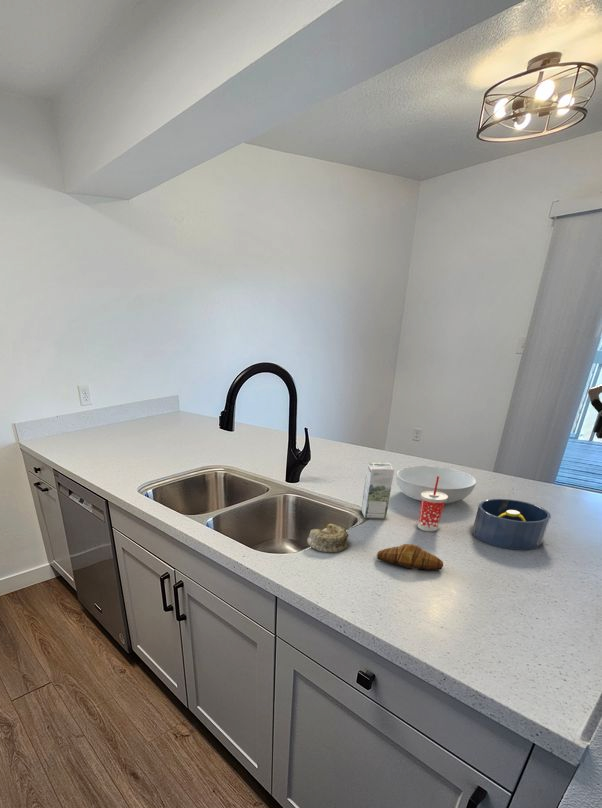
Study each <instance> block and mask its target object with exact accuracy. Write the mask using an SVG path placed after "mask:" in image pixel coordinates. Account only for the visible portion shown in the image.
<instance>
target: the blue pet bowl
mask: <svg viewBox="0 0 602 808" xmlns="http://www.w3.org/2000/svg"><path fill="white" fill-rule="evenodd" d="M507 510H516V511H519V512H520V514H521V515H522V516H523V517H524V519H525V520H526V521H522V519H521V518H519V517H518V516H517V517H512V516H508V515H506V516H503V517H501V518H500V517H498V516H499V515H500V514H502V513H505V512H506V511H507ZM551 518H552V516H551V513H550V511H549V510H547V509H545V508H544V507H542V506H539V505H537V504H534V503H530V502H527V501H522V500H517V499H509V498H491V499H485V500H481V502H480V503H478V506H477V509H476V514H475V518H474V522H473V524H472V525H473V526H472V531H471V532H472V534H473V536H474V537H475V538H477V539H478V540H480V541H481V542H484V543H486V544H488V545H491V546H495V547H499V548H503V549H508V550H509V549H510V550H518V551H519V550H520V551H522V550H525V551H526V550H533V549H536V548H539V547H540V546H541V545H542V543H543V541H544V537H545V534H546V532H547V528H548V526H549V523H550V522H551Z"/></svg>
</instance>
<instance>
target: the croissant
mask: <svg viewBox="0 0 602 808" xmlns="http://www.w3.org/2000/svg"><path fill="white" fill-rule="evenodd" d="M376 558H377V560H379V561H381V562H383V563H386V564H390V565H396V566H400V567H403V568H406V569H415V570H425V571H438V570H442V569H443V567H444V561H443V560H442V559H440V557H437V556H436V555H434V554H432V553H431V552H429V551H426V550H424V549H423V548H421V546H419V545H416V544H413V543H407V544H406V543H404V544H402V545H398V546H392V547H387V548H383V549H381V550H379V551H378V552H377V553H376Z"/></svg>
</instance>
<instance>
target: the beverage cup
mask: <svg viewBox="0 0 602 808" xmlns="http://www.w3.org/2000/svg"><path fill="white" fill-rule="evenodd" d="M438 480H439V476H437V480H436V484H435V489H434V491H425V492H422V493H421V497H420V498H421V501H420V505H419V506H420V507H419V515H418V522H417V527H418V529H419V530H422V531H425V532H436V531H437V530H438V528H439V526H440V521H441V519H442V514H443V511H444V509H445V504H446V503H445V502H446V501H447V499H448V496H447V495H446V494H444V493H441V492H436V490H437V485H438Z"/></svg>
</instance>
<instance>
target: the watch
mask: <svg viewBox="0 0 602 808" xmlns="http://www.w3.org/2000/svg"><path fill="white" fill-rule="evenodd" d="M506 515H508V516H512V517H517V516H518V517H519V518H521V519H522V521H526V520H525V519H524V517H523V516H522V515H521V514H520V512H519V511H516V510H507V511H506V512H505V513H502V514H500V515H499V516H498V517H500V518H501V517H503V516H506Z"/></svg>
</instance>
